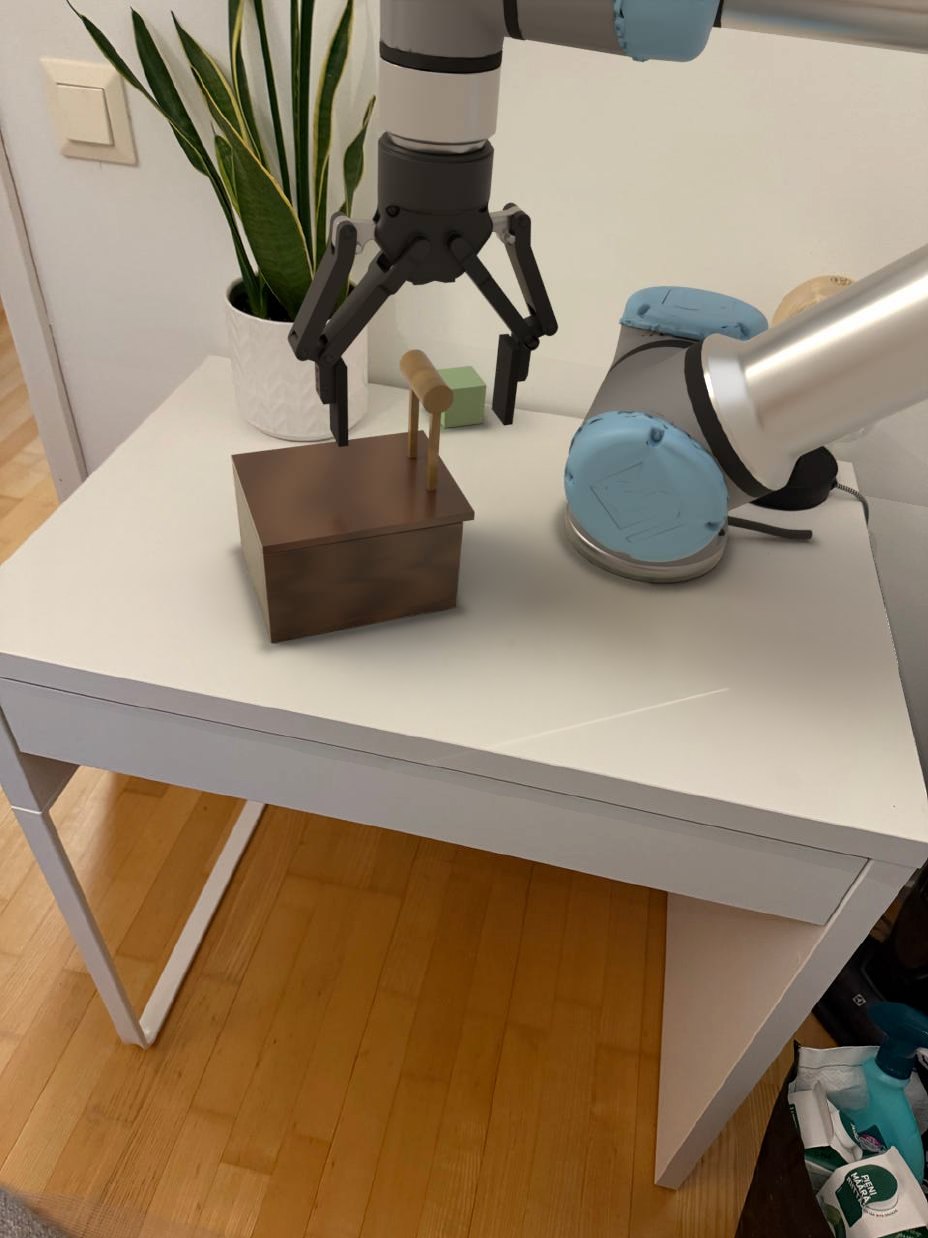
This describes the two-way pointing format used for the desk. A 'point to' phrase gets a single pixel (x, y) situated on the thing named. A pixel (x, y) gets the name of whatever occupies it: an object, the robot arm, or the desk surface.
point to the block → (464, 397)
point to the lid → (357, 479)
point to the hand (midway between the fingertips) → (422, 427)
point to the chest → (351, 578)
